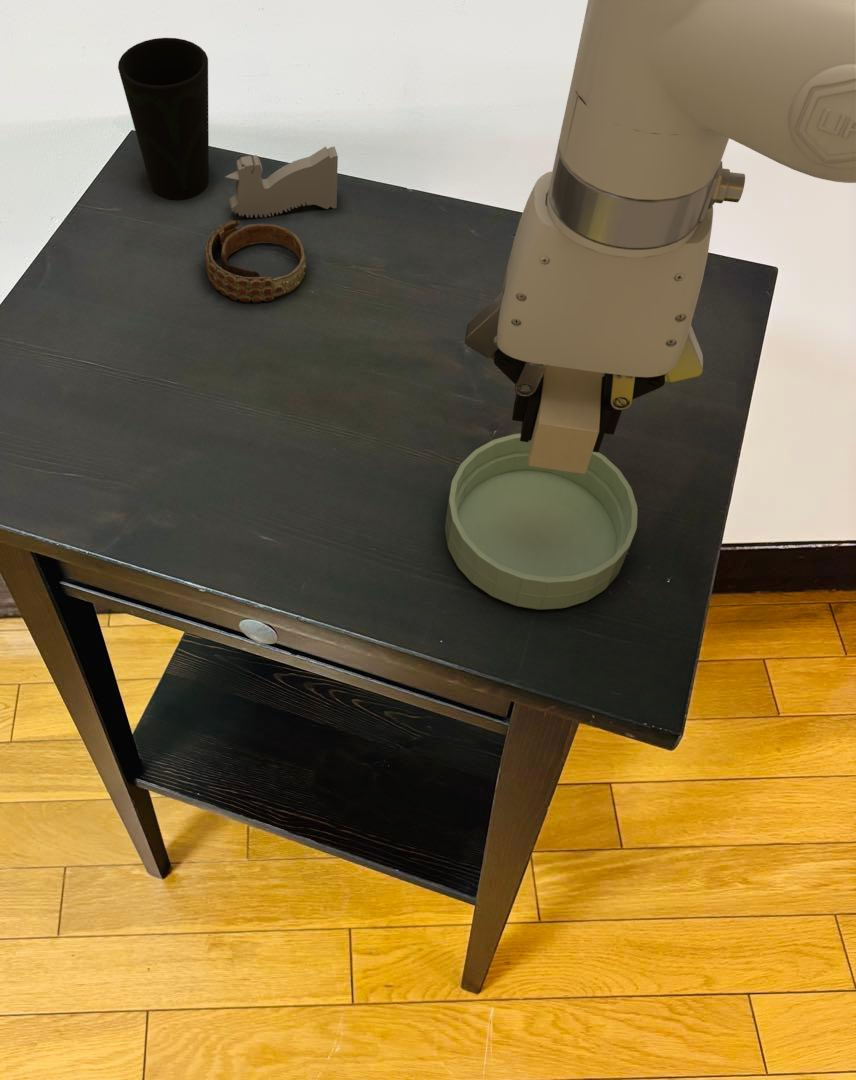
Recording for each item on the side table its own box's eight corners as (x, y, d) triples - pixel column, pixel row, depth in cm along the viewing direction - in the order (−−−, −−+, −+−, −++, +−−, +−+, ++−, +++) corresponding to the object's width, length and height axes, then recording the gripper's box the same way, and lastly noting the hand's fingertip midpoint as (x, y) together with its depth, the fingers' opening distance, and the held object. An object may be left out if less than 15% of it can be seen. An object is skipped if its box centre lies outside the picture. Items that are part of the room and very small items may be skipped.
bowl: (626, 480, 79) (639, 446, 76) (621, 627, 72) (635, 595, 69) (455, 456, 81) (461, 421, 78) (433, 597, 74) (438, 565, 70)
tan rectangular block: (536, 389, 69) (546, 345, 66) (590, 396, 69) (603, 352, 65) (527, 466, 65) (538, 423, 62) (585, 474, 65) (599, 431, 62)
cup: (236, 173, 101) (225, 53, 91) (188, 217, 97) (172, 97, 87) (171, 147, 103) (154, 28, 94) (122, 189, 100) (99, 70, 90)
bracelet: (190, 259, 94) (186, 232, 92) (276, 227, 96) (275, 200, 94) (235, 319, 90) (232, 292, 87) (324, 283, 92) (324, 256, 90)
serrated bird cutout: (336, 209, 98) (228, 221, 97) (333, 199, 99) (226, 212, 98) (337, 154, 93) (224, 167, 92) (334, 145, 94) (222, 158, 93)
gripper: (799, 157, 53) (693, 404, 68) (468, 120, 55) (437, 369, 70) (809, 256, 49) (694, 496, 64) (450, 212, 51) (421, 456, 66)
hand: (560, 428), depth 67 cm, fingers closed on tan rectangular block, 3 cm apart
